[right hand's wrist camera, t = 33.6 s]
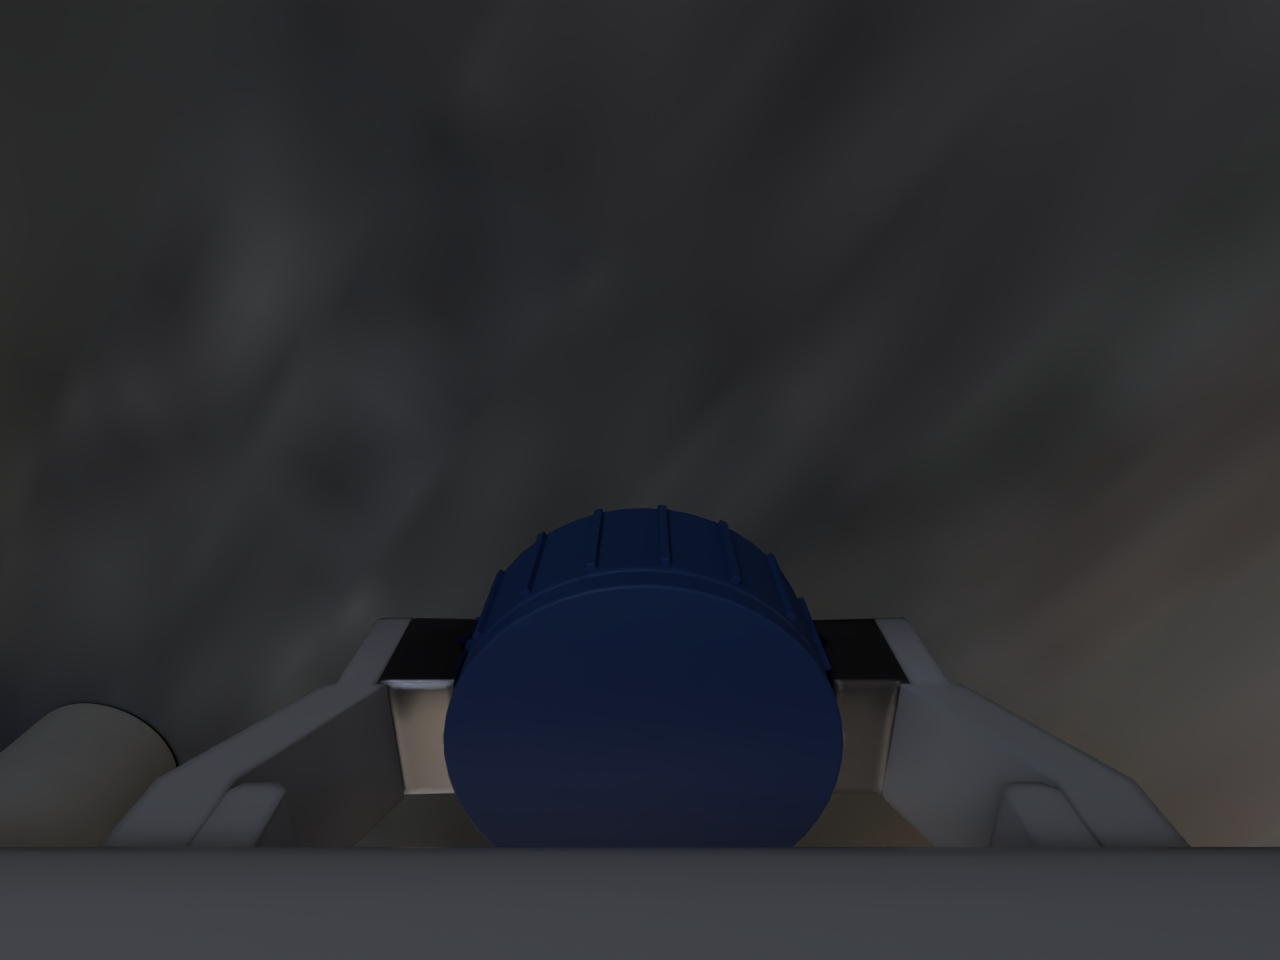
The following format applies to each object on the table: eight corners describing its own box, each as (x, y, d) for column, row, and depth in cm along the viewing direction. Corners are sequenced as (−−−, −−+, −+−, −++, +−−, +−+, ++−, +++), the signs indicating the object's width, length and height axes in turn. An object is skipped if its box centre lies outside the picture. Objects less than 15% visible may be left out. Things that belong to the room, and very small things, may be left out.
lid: (514, 461, 9) (478, 531, 7) (863, 553, 10) (918, 642, 8) (447, 742, 11) (406, 860, 9) (747, 809, 12) (768, 934, 10)
